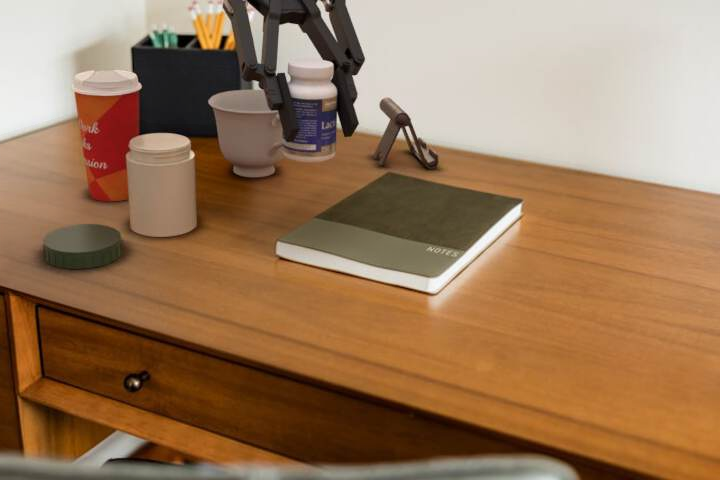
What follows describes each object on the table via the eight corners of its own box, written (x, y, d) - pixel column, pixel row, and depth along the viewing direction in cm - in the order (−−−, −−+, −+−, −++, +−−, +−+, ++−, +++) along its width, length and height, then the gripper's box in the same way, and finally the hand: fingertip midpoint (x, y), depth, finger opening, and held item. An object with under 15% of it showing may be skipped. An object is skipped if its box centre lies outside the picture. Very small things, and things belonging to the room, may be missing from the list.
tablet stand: (438, 169, 128) (442, 112, 124) (384, 171, 126) (387, 113, 123) (420, 151, 135) (424, 96, 132) (369, 153, 134) (372, 97, 131)
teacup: (250, 197, 114) (249, 121, 110) (194, 166, 125) (191, 95, 121) (327, 181, 121) (329, 109, 117) (267, 153, 132) (267, 85, 128)
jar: (127, 238, 101) (121, 151, 97) (132, 213, 108) (127, 131, 104) (196, 236, 102) (193, 150, 98) (197, 212, 109) (194, 131, 105)
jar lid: (138, 252, 97) (137, 236, 96) (76, 276, 91) (74, 259, 90) (90, 233, 101) (89, 218, 101) (28, 255, 95) (26, 238, 95)
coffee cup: (79, 185, 116) (69, 69, 110) (144, 180, 118) (137, 67, 113) (81, 207, 109) (71, 84, 103) (151, 202, 111) (144, 82, 105)
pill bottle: (332, 165, 93) (334, 69, 89) (277, 162, 93) (277, 66, 89) (339, 149, 98) (341, 58, 94) (287, 146, 99) (287, 55, 95)
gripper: (339, -31, 106) (393, 143, 98) (181, -29, 98) (226, 158, 91) (359, -75, 99) (418, 107, 92) (191, -77, 92) (240, 121, 84)
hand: (322, 132), depth 91 cm, fingers closed on pill bottle, 6 cm apart
